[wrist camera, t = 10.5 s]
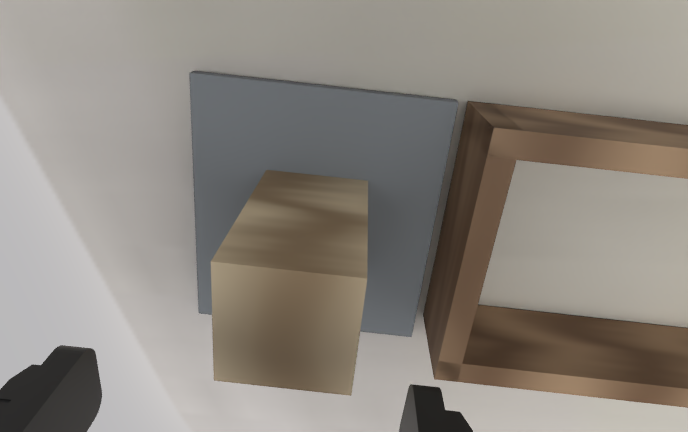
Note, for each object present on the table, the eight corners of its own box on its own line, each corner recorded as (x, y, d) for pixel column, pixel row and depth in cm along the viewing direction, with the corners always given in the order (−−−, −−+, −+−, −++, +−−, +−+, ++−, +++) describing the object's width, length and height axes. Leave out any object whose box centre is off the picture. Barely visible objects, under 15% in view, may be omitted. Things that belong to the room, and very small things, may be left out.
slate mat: (202, 306, 25) (198, 313, 24) (194, 70, 20) (189, 72, 19) (410, 329, 25) (411, 337, 24) (456, 99, 20) (458, 102, 19)
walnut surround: (423, 315, 24) (434, 379, 20) (468, 101, 20) (494, 127, 15) (770, 354, 24) (852, 426, 20) (898, 148, 20) (1037, 187, 15)
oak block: (263, 258, 23) (213, 380, 15) (266, 169, 21) (210, 261, 13) (356, 268, 23) (351, 395, 15) (368, 180, 21) (367, 278, 13)
